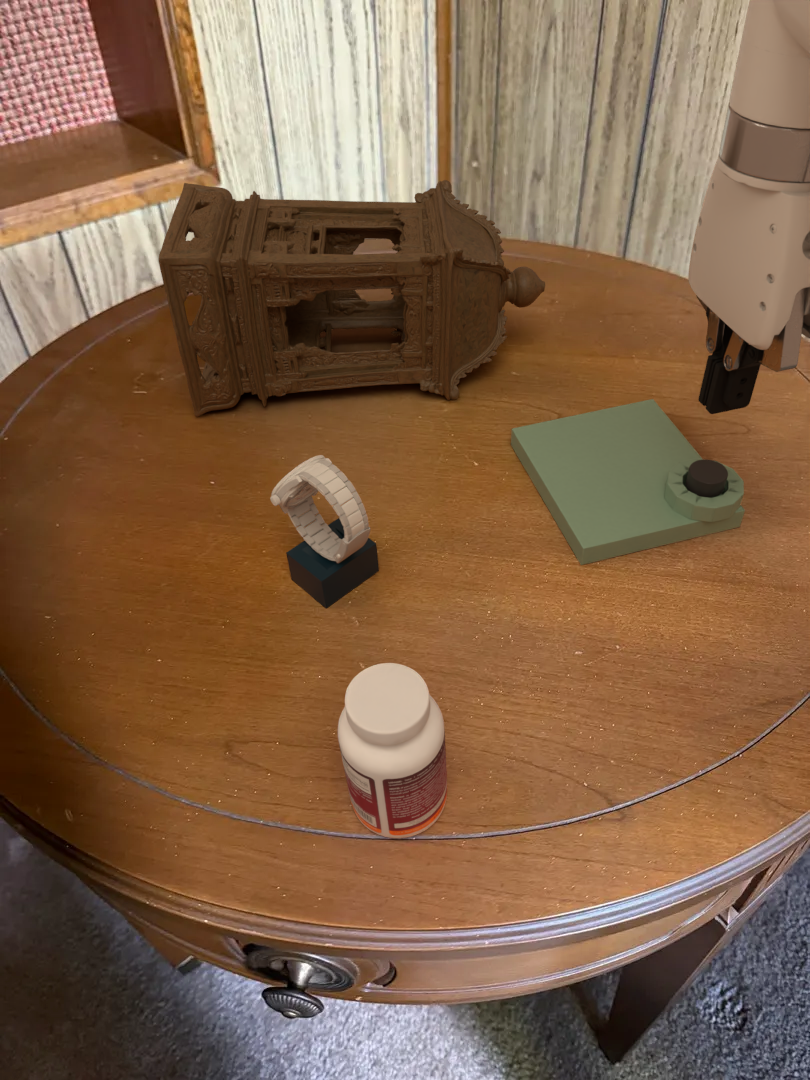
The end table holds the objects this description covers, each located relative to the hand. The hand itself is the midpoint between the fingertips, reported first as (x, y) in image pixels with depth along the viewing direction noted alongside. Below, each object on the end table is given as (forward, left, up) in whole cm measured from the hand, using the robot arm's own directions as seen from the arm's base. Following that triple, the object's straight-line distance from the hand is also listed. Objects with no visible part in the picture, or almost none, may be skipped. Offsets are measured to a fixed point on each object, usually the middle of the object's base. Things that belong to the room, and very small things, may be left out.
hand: (723, 404), depth 61 cm
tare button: (+1, -1, -9) cm, 9 cm away
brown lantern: (+31, +19, -12) cm, 39 cm away
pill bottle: (-17, +29, -12) cm, 36 cm away
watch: (+3, +29, -12) cm, 32 cm away
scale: (+6, +3, -12) cm, 14 cm away
